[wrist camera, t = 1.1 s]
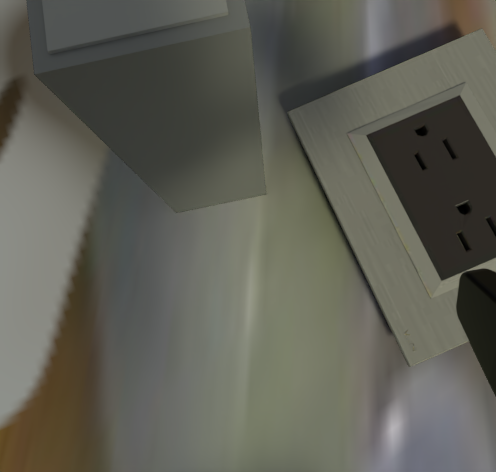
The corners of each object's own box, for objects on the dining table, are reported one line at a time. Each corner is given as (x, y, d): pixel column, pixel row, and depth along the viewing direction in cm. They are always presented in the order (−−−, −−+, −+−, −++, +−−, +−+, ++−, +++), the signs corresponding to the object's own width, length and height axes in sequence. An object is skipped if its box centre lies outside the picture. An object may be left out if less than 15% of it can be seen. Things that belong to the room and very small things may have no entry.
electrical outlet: (286, 129, 23) (287, 108, 20) (463, 53, 23) (485, 23, 20) (397, 360, 20) (413, 367, 18) (595, 274, 20) (637, 269, 18)
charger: (266, 194, 22) (250, 23, 9) (176, 212, 22) (31, 71, 9) (251, 121, 22) (216, -132, 10) (164, 140, 23) (15, -86, 10)
